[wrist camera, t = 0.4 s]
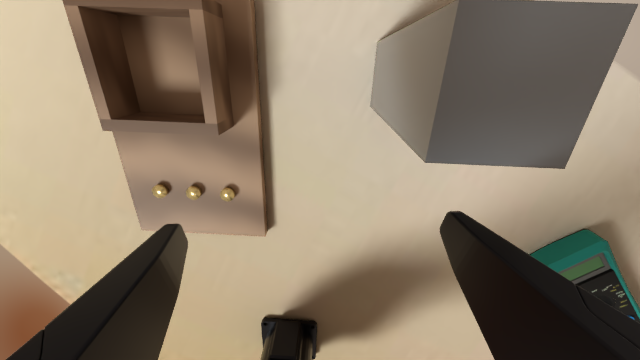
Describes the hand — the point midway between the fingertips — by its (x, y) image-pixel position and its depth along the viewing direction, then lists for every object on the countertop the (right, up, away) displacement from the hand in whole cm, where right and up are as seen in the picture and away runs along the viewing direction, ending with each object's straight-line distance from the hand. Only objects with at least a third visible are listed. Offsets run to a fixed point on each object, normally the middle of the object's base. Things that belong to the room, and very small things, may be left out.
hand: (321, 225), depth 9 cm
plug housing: (+6, +9, +11) cm, 16 cm away
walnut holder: (-11, +5, +13) cm, 18 cm away
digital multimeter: (+27, -10, +19) cm, 34 cm away
